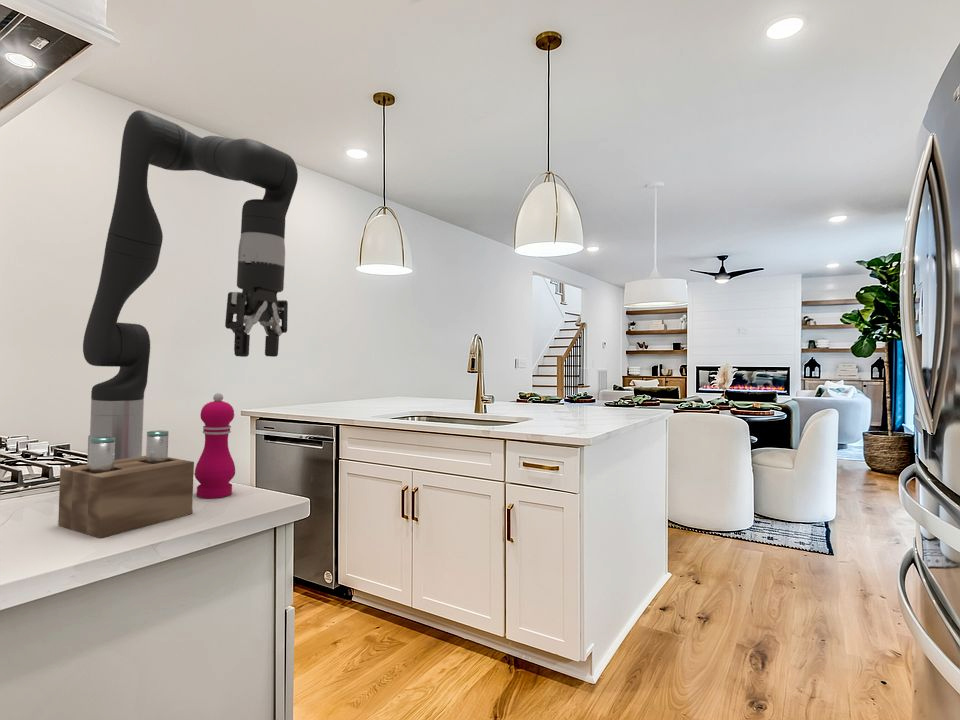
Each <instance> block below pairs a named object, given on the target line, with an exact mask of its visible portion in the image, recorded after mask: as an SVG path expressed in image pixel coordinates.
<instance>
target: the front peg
mask: <svg viewBox="0 0 960 720" xmlns="http://www.w3.org/2000/svg"><path fill="white" fill-rule="evenodd" d="M114 456H115V437H94V438H91V439H90V465H89V472H90V473H94V474H97V473H103V472H109V471H114Z"/></svg>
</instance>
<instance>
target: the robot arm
mask: <svg viewBox="0 0 960 720" xmlns="http://www.w3.org/2000/svg"><path fill="white" fill-rule="evenodd" d="M120 147H121V148H120V159H119V167H118V168H119V171H118V181H117V186H116V187H117V188H116V195H115V200H114V205H113V209H112V214H111V215H112V216H111V219H110V224H109V227H108V231H107V237H106V241H105V248H104V254H103V260H102V267H101V270H100V271H101V273H100V276H99V283H98V286H97V291H96V294H95V298H94V301H93V305H92V308H91V310H90V314H89V317H88V320H87V324H86V327H85V330H84V335H83V341H82V342H83V343H82V353H83V357H84V360H85V361H86V362H87V364H88V365H91V366H94V367H116V368H117V367H119V371H118V373H116V374H115V375H114V376H113V377H111V378H110V379H107V380H105V381H102V382H98V383H97V384H95V385H93V386H92V388H91V393H90V394H91V395H90V396H91V397H90V426H89V427H90V428H89V435H88V437H87V457H86V458H87V462H86V465H87V464H90V439H91V438H94V437H115V456H114V460H120V459H127V458H134V457H140V456H143V452H142V451H143V433H144V432H143V431H144V406H145V403H144V402H145V400H144V398H145V391H146V387H147V384H148V377H149V376H148V374H149V365H150V357H151V356H150V355H151V339H150V334H149V331H148V330H147V328H146V327H145V326H143V325H141V324H140V323H139V324H138V323H128V322H118V320H119V317H120V314H121V311H122V309H123V307H124V304H126V302H127V300H129V298H130V297H131V295H133V293H135V292H136V290H138V289H139V288H140V287H141V285H142V284H144V283H145V282H146V281H147V280H148V279H149V278H150V277H151V275H153V273H155V270H156V268H157V266H158V262H159V259H160V255H161V250H162V245H163V240H164V239H163V238H164V236H163V231H162V230H163V229H162V226H161V224H160V221H159V218H158V215H157V213H156V211H155V208H154V205H153V203H152V201H151V198H150V194H149V189H148V177H149V174H148V172H149V166H150V165H151V166H154V167H157V168H160V169H163V170H166V171H174V172H175V171H176V172H178V171H198V172H199V171H200V172H204V173H206V174H209V175H212V176H215V177H218V178H223V179H226V180H231V181H238V182H239V181H240V182H245V183H247V184H251V185H252V186H256V187H259V188H262V189H264V190H265V191H264V195H263V197H262V199H261V198H260V199H259V198H256V199H255V198H253V199H248V200H246V201H244V203H243V205H242V208H241V209H242V210H241V220H240V221H241V225H240V239H239V243H238V249H237V250H238V251H237V252H238V253H237V254H238V255H237V270H236V271H237V272H236V273H237V275H236V286H237V288H238V289H241V290H242V291H241V292H239V291H229V292H228V293H227V299H226V311H225V322H224V323H225V324H224V327H225V329H228V330H229V329H230V330H232V333H233V334H234V342H233V343H234V344H233V345H234V346H233V348H234V349H233V350H234V356H235V357H241V358H242V357H243V358H244V357H246V358H247V357H249V354H250V341H251V339H250V338H251V337H250V336H251V334H250V332H251V330H252V327H253V326H254V325H256V324H258V322H259V325H260V326H262V327H263V329H264V331H265V341H264V343H265V344H264V355H265V356H266V357H271V358H272V357H273V358H275V357H278V356H279V346H280V344H279V341H280V337H281V336H282V334H283V333H284V334H286V333H287V332H288V317H289V316H288V315H289V314H288V311H289V310H288V309H289V307H288V300H287V299H286V300H284V299H278V297H277V294H278V293H282V292H283V291H284V289H285V287H284V286H285V266H286V245H285V237H286V236H285V234H286V233H285V232H286V217H287V213H288V210H289V208H290V205H291V201H292V199H293V196H294V193H295V190H296V187H297V184H298V183H297V182H298V178H299V177H298V173H299V172H298V168H297V165H296V164H297V163H295V161H294V159H293V158H292V156H291V155H289V154H287V153H285V152H284V151H282V150H279V149H277V148H275V147H272V146H271V145H267V144H266V143H263V142H261V141H258V140H255V139H250V138H236V139H234V138H230V137H225V136H219V135H207V136H204V137H201V136H198V135H196V134H195V133H193V132H191V131H189V130H187V129H185V128H184V127H182V126H181V125H179V124H177V123H175V122H173V121H172V122H171V121H170V120H167V119H165V118H162V117H161V116H157V115H155V114H153V113H150V112H148V111H145V110H140V109H139V110H138V109H137V110H135V111H133V112H132V113H131V114H129V116H128V118H127V121H126V123H125V126H124V129H123V133H122V139H121V146H120ZM234 315H236V316H235V320H236V321H235V320H234ZM280 323H281V325H280Z"/></svg>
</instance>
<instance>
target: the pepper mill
mask: <svg viewBox="0 0 960 720" xmlns="http://www.w3.org/2000/svg"><path fill="white" fill-rule="evenodd" d="M212 399H213V401H210V402H209V401H208V402H207V403H206V404H203V407H201V408H202V409H201V410H200V415H199V417H200V420H201V421H202V422H203V424H204V425H203V427H202V428H203V431H202V434H203V435H204V438H205V439H204V447H203V450H202V452H201V454H200V457H199V459H198V461H197V463H196V466H195V467H194V469H195V470H194V477H195V480H196V481H197V482H198V483H199V484H198V485H197V486H196V496H197V497H198V498H202V499H218V498H219V499H220V498H225V497H228V496H230V495H232V493H233V483H230V482H231V481H232V479H234V477H235V475H236V466H235V462H234V459H233V457H232V454H231V452H230V449H229V434H231V432H232V431H231V428H232V426H231V425H230V424H231V422H232V421H233V420H234V418H235V410H234V407H233V406H232V405H231V404H230V403H229V402H226V401H223V399H224V396H223V394H222V393H220V392H216V393H215V394H214V395H213V398H212ZM227 495H228V496H227ZM224 496H225V497H224Z"/></svg>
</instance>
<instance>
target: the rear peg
mask: <svg viewBox="0 0 960 720" xmlns="http://www.w3.org/2000/svg"><path fill="white" fill-rule="evenodd" d="M145 446H146V448H145V449H146V451H145V452H146V454H145V456H146V463H149V464H157V463H163V462H167V458H168V457H169V450H168V449H169V431H168V430H150V431H146V445H145Z"/></svg>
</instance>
